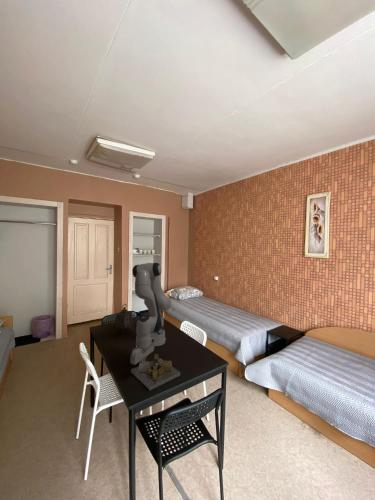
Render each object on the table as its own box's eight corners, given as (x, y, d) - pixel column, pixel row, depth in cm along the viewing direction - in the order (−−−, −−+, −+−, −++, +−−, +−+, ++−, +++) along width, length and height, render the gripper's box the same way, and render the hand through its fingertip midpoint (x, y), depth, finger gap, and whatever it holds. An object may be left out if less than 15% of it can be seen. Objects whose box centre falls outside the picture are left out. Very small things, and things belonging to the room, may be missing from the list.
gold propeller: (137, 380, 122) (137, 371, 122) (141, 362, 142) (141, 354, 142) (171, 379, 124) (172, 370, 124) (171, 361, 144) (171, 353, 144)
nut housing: (131, 372, 134) (131, 361, 134) (160, 360, 149) (160, 350, 149) (149, 390, 118) (149, 378, 118) (180, 375, 132) (180, 364, 132)
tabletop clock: (123, 333, 193) (123, 306, 193) (114, 332, 196) (115, 305, 196) (132, 328, 207) (132, 302, 207) (124, 327, 210) (124, 301, 210)
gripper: (136, 350, 124) (136, 374, 124) (156, 337, 142) (155, 358, 142) (128, 348, 126) (127, 371, 126) (148, 335, 145) (148, 355, 145)
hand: (142, 364), depth 135 cm, fingers closed
